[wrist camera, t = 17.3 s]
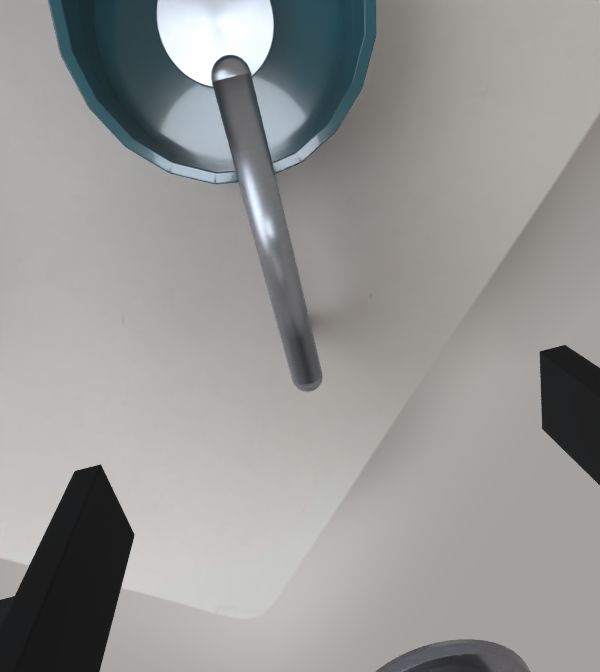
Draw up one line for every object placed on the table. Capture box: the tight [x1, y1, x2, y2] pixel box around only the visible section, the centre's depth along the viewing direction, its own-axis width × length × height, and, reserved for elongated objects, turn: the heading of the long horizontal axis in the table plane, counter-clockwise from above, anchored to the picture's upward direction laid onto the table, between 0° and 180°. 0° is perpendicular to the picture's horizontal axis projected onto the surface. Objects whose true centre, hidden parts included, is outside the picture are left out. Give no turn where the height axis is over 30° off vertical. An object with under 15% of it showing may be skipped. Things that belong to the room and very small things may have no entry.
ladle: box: [156, 0, 323, 392], centre depth 28 cm, size 23×6×9 cm, turn 13°
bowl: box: [48, 0, 376, 184], centre depth 26 cm, size 15×15×6 cm
